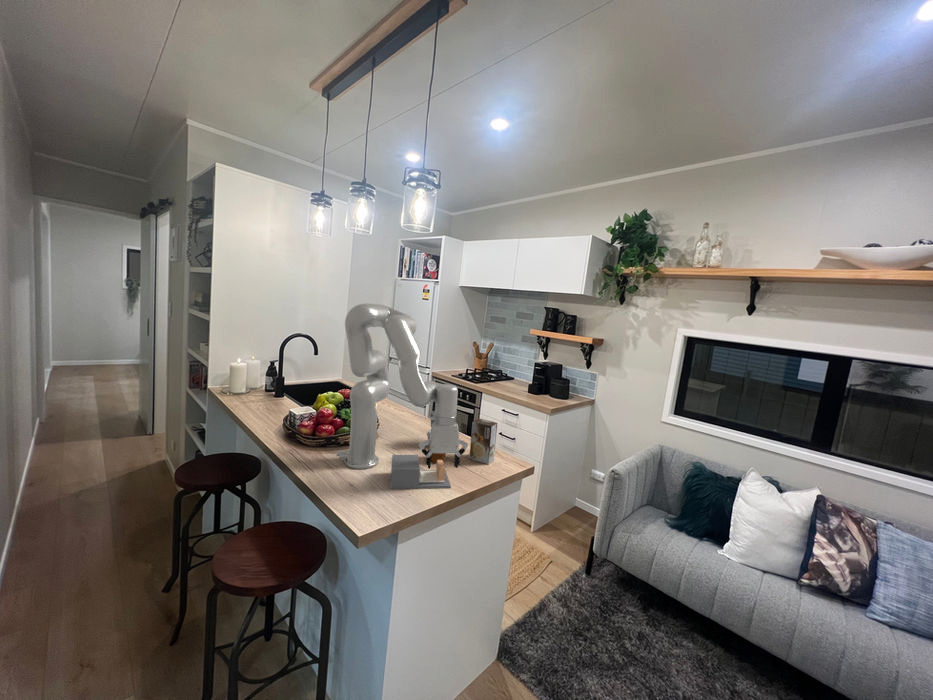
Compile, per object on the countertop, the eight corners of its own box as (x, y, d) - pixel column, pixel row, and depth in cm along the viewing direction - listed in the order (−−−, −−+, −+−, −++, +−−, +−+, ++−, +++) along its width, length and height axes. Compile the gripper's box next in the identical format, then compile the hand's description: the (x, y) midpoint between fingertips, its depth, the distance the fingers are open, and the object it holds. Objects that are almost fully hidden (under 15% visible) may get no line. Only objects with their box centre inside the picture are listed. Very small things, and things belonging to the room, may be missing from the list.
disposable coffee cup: (444, 466, 144) (447, 437, 143) (421, 462, 146) (423, 433, 144) (450, 457, 153) (453, 429, 152) (428, 454, 155) (431, 426, 154)
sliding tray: (393, 482, 125) (394, 469, 125) (392, 472, 133) (393, 459, 133) (444, 482, 129) (445, 468, 128) (441, 472, 137) (442, 459, 136)
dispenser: (391, 488, 123) (392, 469, 123) (391, 472, 135) (392, 454, 134) (450, 488, 128) (452, 469, 127) (445, 472, 139) (447, 455, 139)
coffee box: (494, 459, 155) (498, 422, 153) (488, 464, 150) (492, 426, 148) (475, 454, 159) (478, 417, 158) (468, 458, 154) (471, 421, 152)
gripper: (421, 423, 125) (418, 471, 127) (471, 423, 128) (468, 470, 130) (419, 416, 132) (417, 462, 134) (467, 416, 136) (464, 461, 138)
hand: (442, 466), depth 132 cm, fingers open, 9 cm apart
